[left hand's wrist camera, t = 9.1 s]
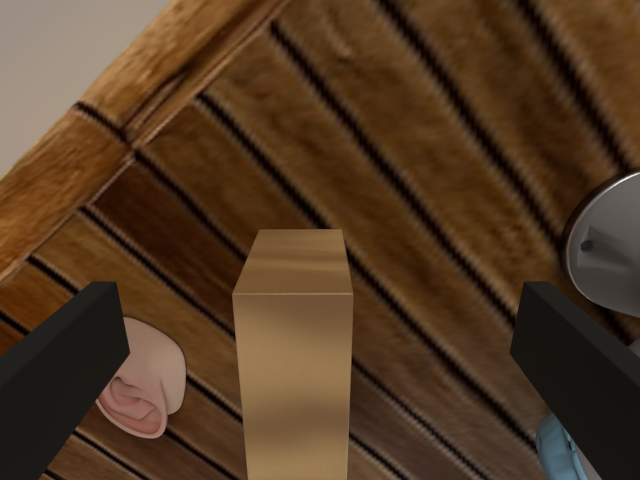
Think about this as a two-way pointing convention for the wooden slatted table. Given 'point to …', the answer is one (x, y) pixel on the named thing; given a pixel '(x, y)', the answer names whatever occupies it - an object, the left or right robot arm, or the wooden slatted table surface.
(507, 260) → the wooden slatted table surface
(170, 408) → the anatomical model
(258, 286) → the bar
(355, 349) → the wooden slatted table surface
